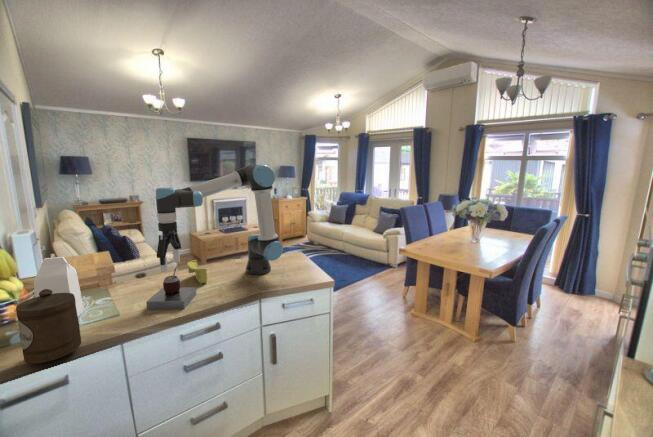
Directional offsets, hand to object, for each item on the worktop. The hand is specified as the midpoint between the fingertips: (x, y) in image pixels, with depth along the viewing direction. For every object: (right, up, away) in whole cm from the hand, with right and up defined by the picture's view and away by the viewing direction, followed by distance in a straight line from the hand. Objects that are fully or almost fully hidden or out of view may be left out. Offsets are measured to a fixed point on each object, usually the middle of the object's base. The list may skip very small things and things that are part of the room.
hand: (170, 266), depth 141 cm
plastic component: (-2, -13, +31) cm, 34 cm away
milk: (-39, -19, -13) cm, 46 cm away
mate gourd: (0, -13, +2) cm, 14 cm away
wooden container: (-22, -23, -36) cm, 48 cm away
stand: (0, -17, +3) cm, 17 cm away
